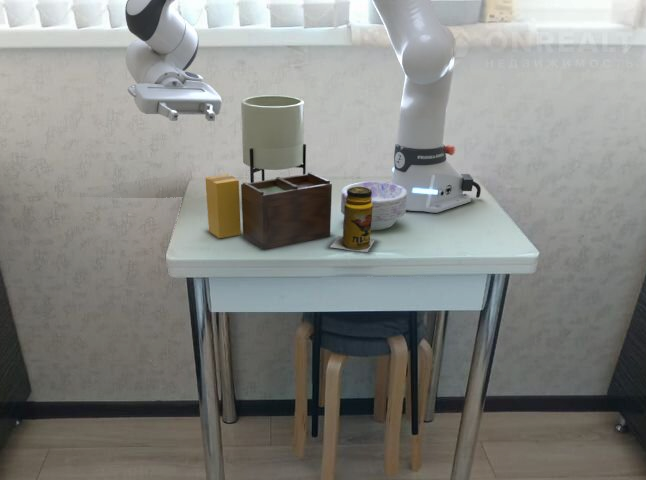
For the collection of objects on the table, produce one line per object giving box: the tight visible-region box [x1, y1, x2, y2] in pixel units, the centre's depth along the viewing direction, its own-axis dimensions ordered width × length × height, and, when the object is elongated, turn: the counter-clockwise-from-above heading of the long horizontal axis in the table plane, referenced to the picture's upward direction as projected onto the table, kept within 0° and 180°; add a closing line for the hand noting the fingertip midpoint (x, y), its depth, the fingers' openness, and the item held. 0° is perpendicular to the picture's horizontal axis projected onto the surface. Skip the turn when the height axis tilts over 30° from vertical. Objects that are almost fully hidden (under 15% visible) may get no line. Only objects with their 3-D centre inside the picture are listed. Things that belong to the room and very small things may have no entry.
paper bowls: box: [340, 181, 407, 231], centre depth 163 cm, size 15×15×8 cm
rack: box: [240, 171, 333, 250], centre depth 155 cm, size 17×10×12 cm, turn 121°
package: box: [204, 174, 242, 239], centre depth 156 cm, size 6×6×12 cm
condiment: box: [329, 187, 375, 253], centre depth 151 cm, size 7×8×12 cm
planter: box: [240, 94, 307, 183], centre depth 174 cm, size 15×16×23 cm
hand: (193, 117), depth 155 cm, fingers open, 8 cm apart
